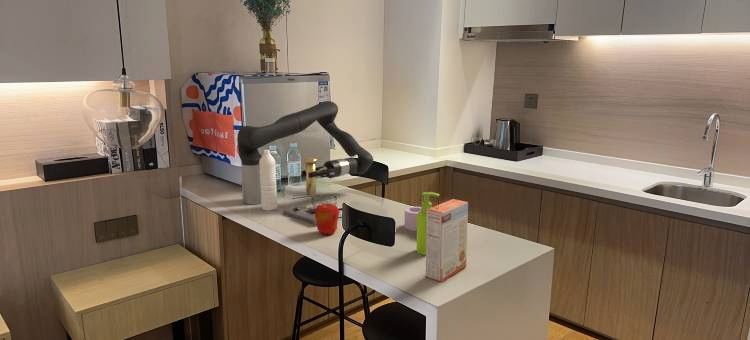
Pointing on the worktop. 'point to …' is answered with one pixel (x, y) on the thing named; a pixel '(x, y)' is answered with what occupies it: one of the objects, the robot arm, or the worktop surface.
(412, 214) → the purple block with hole
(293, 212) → the inner chain end
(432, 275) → the cracker box
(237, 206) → the worktop surface
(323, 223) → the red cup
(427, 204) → the soap dispenser
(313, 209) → the outer chain end
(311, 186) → the pin
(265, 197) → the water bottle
